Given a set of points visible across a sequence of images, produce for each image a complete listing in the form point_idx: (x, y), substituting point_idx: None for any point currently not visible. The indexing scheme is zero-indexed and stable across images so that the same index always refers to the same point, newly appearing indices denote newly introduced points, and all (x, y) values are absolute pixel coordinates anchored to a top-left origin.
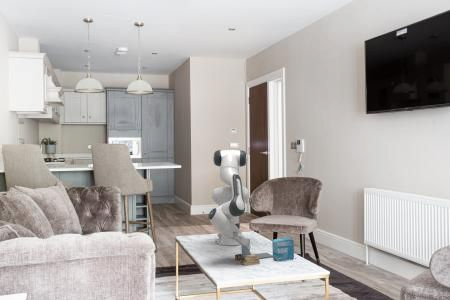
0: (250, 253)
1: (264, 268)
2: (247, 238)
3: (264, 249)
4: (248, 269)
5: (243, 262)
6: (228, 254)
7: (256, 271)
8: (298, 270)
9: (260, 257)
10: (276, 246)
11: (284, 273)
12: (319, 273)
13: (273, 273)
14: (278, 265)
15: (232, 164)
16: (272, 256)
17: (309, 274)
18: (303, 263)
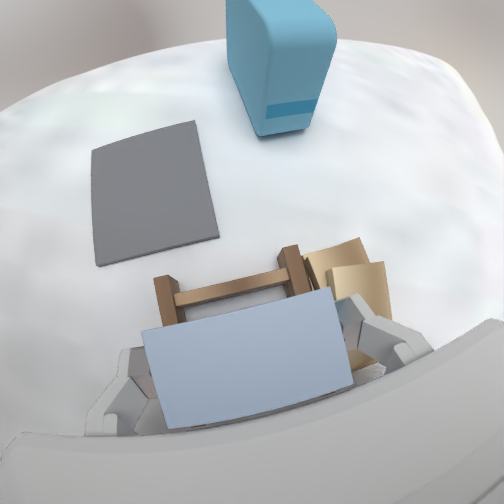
0: (169, 279)
1: (444, 241)
2: (255, 320)
3: (19, 161)
4: (453, 337)
5: (356, 368)
6: (52, 411)
7: (482, 295)
8: (450, 113)
9: (203, 208)
10: (330, 62)
11: (492, 177)
12: (462, 81)
13: (498, 220)
14: (390, 151)
15: None
16: (196, 129)
17: (479, 108)
18: (349, 54)
